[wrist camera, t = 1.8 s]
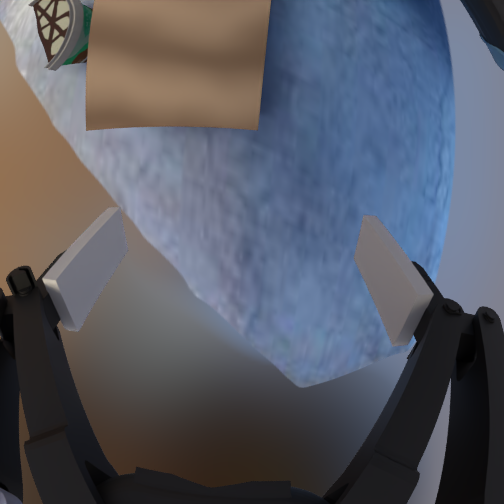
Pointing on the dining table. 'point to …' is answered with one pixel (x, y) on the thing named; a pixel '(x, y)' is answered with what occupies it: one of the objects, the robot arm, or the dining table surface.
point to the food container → (63, 30)
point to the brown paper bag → (176, 63)
